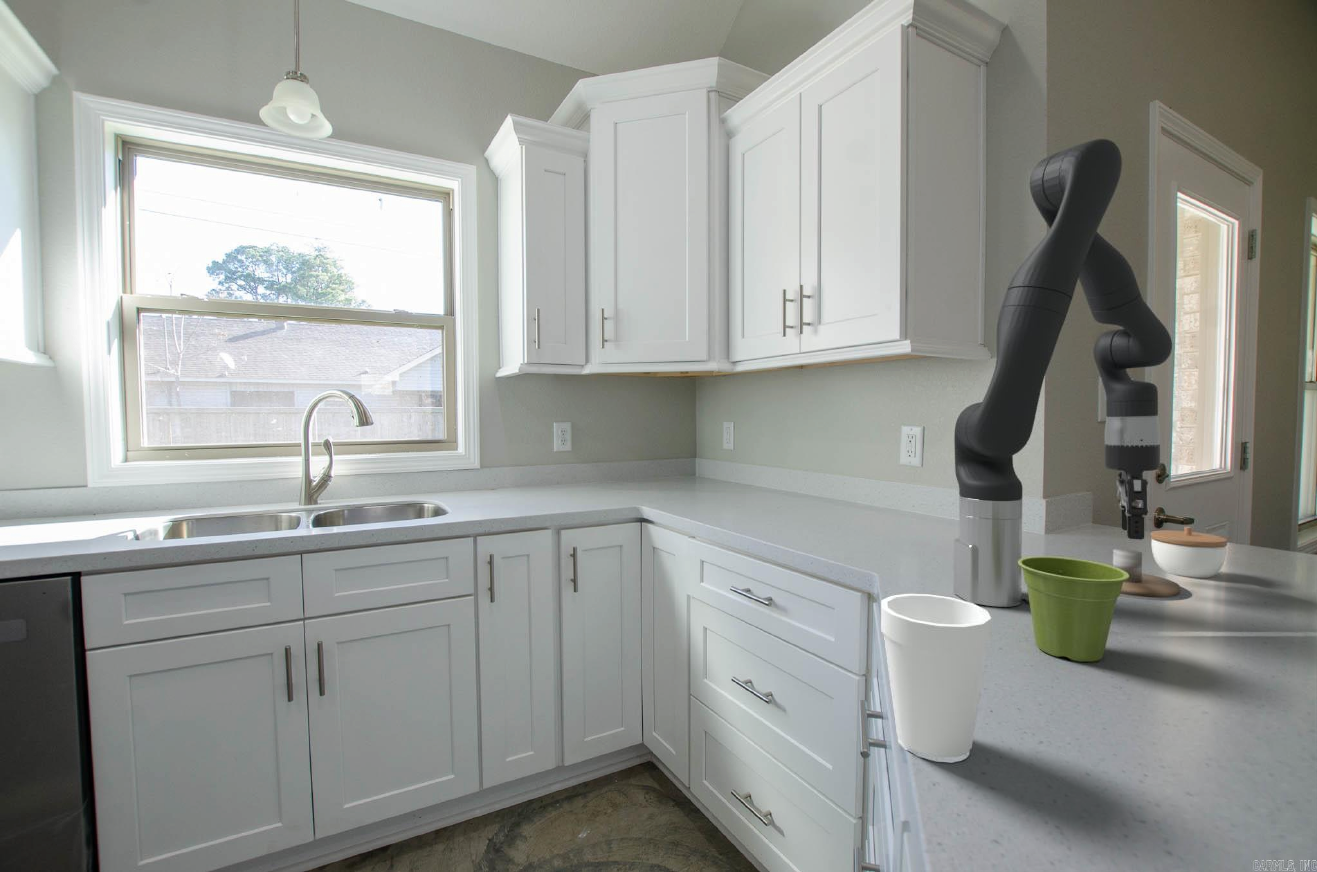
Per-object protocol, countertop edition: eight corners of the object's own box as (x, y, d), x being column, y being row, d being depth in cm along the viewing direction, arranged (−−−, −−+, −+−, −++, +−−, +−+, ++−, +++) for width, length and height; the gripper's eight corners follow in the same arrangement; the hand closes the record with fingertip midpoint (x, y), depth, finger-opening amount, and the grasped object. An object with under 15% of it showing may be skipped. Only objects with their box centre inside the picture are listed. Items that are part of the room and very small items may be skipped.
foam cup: (864, 720, 60) (864, 595, 59) (950, 715, 61) (951, 592, 60) (912, 777, 50) (912, 629, 50) (1013, 771, 51) (1014, 624, 51)
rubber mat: (1113, 603, 95) (1113, 600, 95) (1047, 575, 112) (1047, 572, 112) (1220, 603, 95) (1221, 600, 95) (1138, 575, 112) (1138, 572, 112)
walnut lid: (1115, 597, 97) (1116, 561, 96) (1060, 574, 111) (1061, 543, 110) (1203, 597, 96) (1203, 561, 96) (1136, 574, 110) (1137, 542, 110)
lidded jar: (1242, 585, 104) (1243, 533, 104) (1173, 582, 107) (1174, 531, 106) (1199, 570, 115) (1200, 522, 115) (1137, 567, 117) (1138, 521, 117)
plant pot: (1096, 679, 69) (1097, 584, 68) (997, 645, 79) (998, 562, 79) (1147, 659, 74) (1148, 571, 74) (1048, 629, 84) (1049, 552, 84)
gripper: (1167, 444, 94) (1167, 544, 95) (1153, 440, 106) (1153, 529, 106) (1108, 444, 98) (1109, 540, 99) (1101, 440, 110) (1101, 525, 111)
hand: (1132, 534), depth 103 cm, fingers open, 8 cm apart
